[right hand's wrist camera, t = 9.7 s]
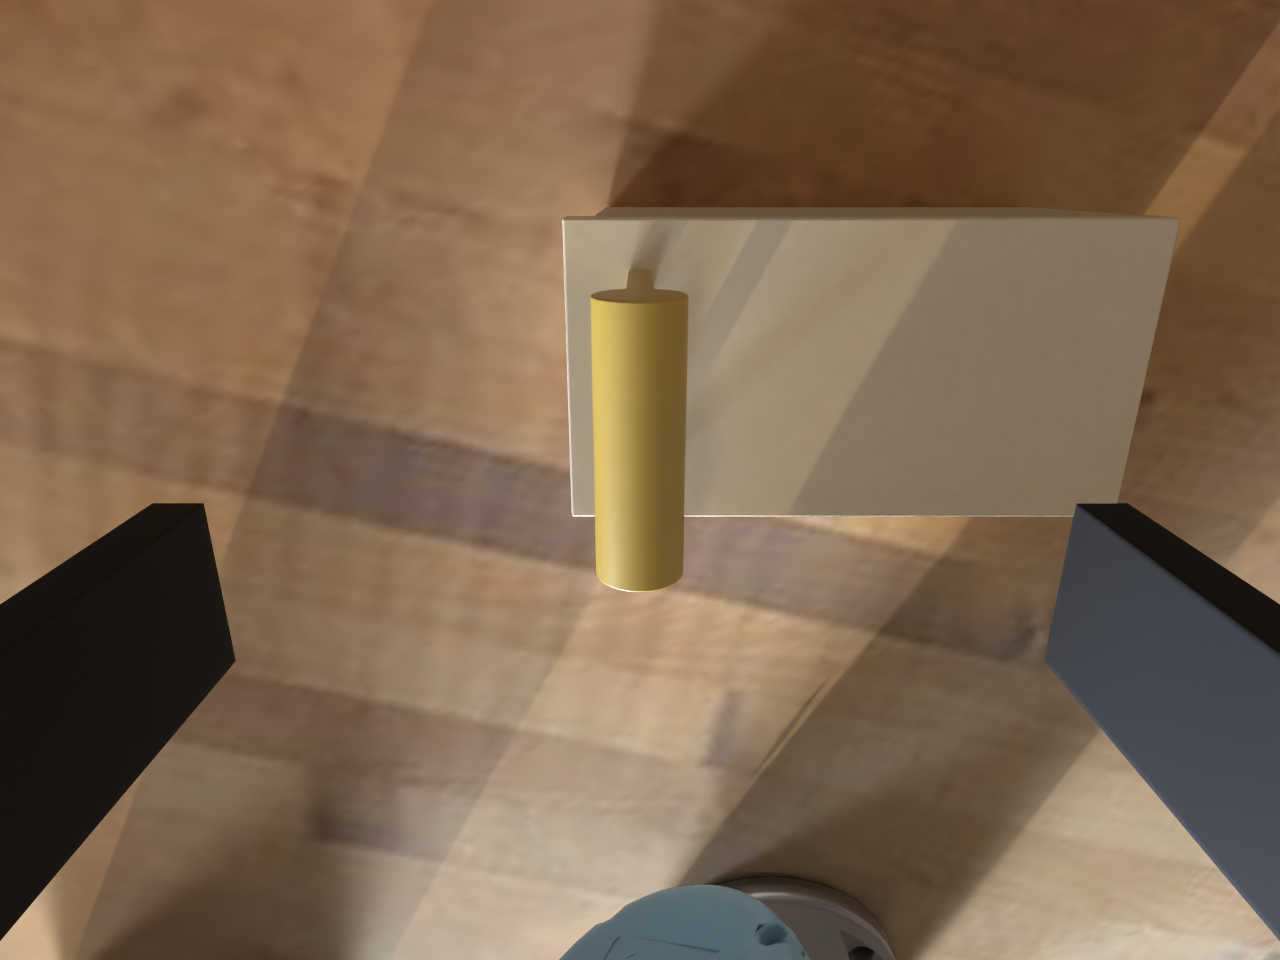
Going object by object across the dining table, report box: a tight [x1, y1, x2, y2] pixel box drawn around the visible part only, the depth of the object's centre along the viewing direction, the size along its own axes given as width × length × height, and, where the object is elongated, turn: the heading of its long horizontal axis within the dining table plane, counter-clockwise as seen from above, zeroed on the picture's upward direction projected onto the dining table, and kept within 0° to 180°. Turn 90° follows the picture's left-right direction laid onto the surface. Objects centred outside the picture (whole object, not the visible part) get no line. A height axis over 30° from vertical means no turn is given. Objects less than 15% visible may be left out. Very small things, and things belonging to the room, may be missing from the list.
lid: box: [562, 216, 1180, 592], centre depth 22 cm, size 18×9×9 cm, turn 90°
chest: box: [596, 207, 1151, 216], centre depth 30 cm, size 17×10×9 cm, turn 90°
